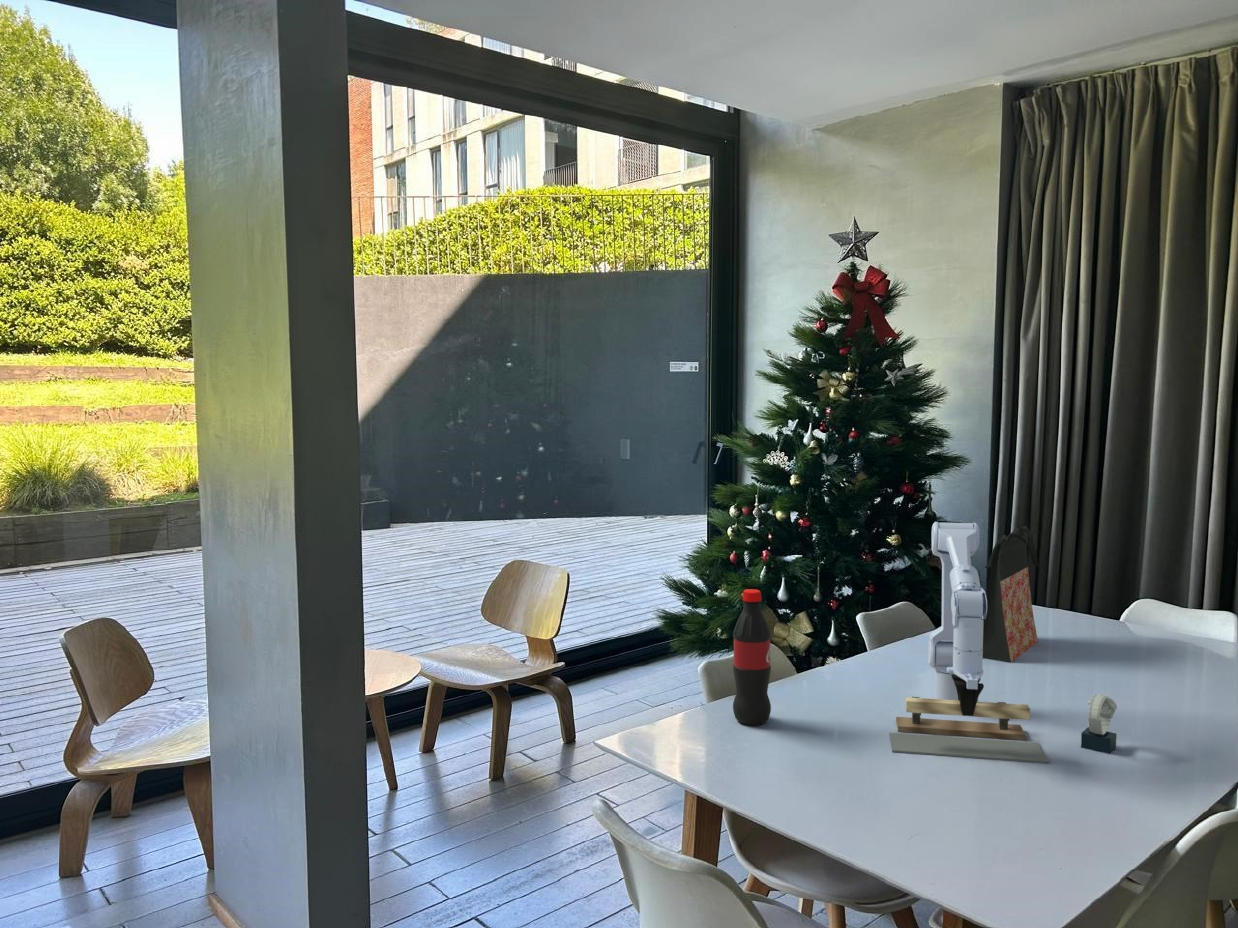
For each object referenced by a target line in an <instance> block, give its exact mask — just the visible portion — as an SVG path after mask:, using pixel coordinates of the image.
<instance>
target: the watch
mask: <svg viewBox="0 0 1238 928" xmlns="http://www.w3.org/2000/svg"><path fill="white" fill-rule="evenodd" d="M1087 704H1088V705H1089V712H1088V715H1089V716H1088V718H1087V720H1088V721H1087V722H1088V727H1086V728H1085V729H1084V730H1083V731H1082V732H1081V736H1080V737H1081V738H1080V741H1081V743H1080V748H1082V749H1086V750H1091V751H1094V752H1099V753H1103V754H1107V755H1111V754H1112V753H1113V752H1114V751H1115V750H1116V749H1117V732H1116V733H1115V732H1112V731H1108V730H1109V728H1110V725H1111V724H1110V723H1111V719H1113V717H1114V715H1115V713H1116V710H1117V709H1118V705H1117V703H1116V702H1115V700H1114V699H1112V698H1111V697H1109V696H1108V695H1105V694H1093V695H1092V697H1091V699H1090V700H1088V701H1087Z"/></svg>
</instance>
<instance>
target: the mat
mask: <svg viewBox="0 0 1238 928" xmlns="http://www.w3.org/2000/svg"><path fill="white" fill-rule="evenodd" d="M888 734H889V740H890V747H891V753H899V754H900V753H901V754H902V753H903V754H915V755H927V756H928V755H929V756H939V757H941V756H943V757H952V758H953V757H954V758H955V757H956V758H967V759H969V758H970V759H983V760H993V761H994V760H995V761H996V760H997V761H1009V762H1023V763H1024V762H1025V763H1036V764H1037V763H1039V764H1049V763H1050V762H1049V759H1048V757H1047V756H1046V754H1045V752H1044V751H1043V749H1042V747H1041V745H1040V743H1039V742H1034V741H1033V742H1032V741H1031V742H1030V741H1028V742H1027V741H1019V740H1006V739H1003V740H1002V739H991V738H977V737H973V738H972V737H962V736H958V737H956V736H948V735H933V734H919V733H904V732H900V733H899V732H889V733H888Z"/></svg>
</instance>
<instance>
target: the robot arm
mask: <svg viewBox="0 0 1238 928" xmlns="http://www.w3.org/2000/svg"><path fill="white" fill-rule="evenodd" d="M979 545H980V528H979V525H978V524H977V523H976V522H972V523H971V522H938V521H934V523H933V524H932V526H931V552H932V555H933V556H936V557H938V558H939V559H940V562H941V626H939V627H937V628H936V629H935V630H933V631H932V632H931V633H930V634H929V636H928V643H927V644H928V645H927V656H928V657H927V659H928V660H927V661H928V665H929V666H930V667H931V668H933V669H934V670H933V673H934V674H933V675H934V676H933V678H934V679H933V699H942V700H959V701H960V706H961V712H962V715H966V716H965V717H973V714H974V711H975V707H976V703H977V702H979V697H980V694H981V693H982V692H983V689H984V687H985V685H984V683H981V682H980V681H981V679H982V677H983V675H984V669H983V659H984V658H983V618H984V619H985V618H986V614H987V592H986V591H985V590H984V588H983V587H981V583H980V577H979V572H978V570H977V568H975V567H974V566H973V565H972V558H971V557H973V556H974V555H975V553H976V551H977V549H979Z"/></svg>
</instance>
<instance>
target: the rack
mask: <svg viewBox="0 0 1238 928" xmlns="http://www.w3.org/2000/svg"><path fill="white" fill-rule="evenodd" d="M911 698H920V696H911ZM997 703H1007V702H1005V701H997ZM921 716H922V713H911V717H910V716H909V717H906V716H895V717H896V718H895V724H896V729H897V733H899V732H900V733H911V734H925V735H940V736H955V737H956V736H958V737H969V738H972V737H973V738H985V737H987V738H986V739H998V740H1002V739H1003V740H1013V741H1019V740H1020V741H1026V740H1027V735H1026V733H1025V731H1024V729H1023V727H1022V726H1021V724H1013V723H1009V722H1010V720H1011V719H1004V718H998V722H983V721H982V722H981V721H967V720H966V721H965V720H955V719H953V720H952V719H941V718H940V719H939V718H937V719H936V718H921Z"/></svg>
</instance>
